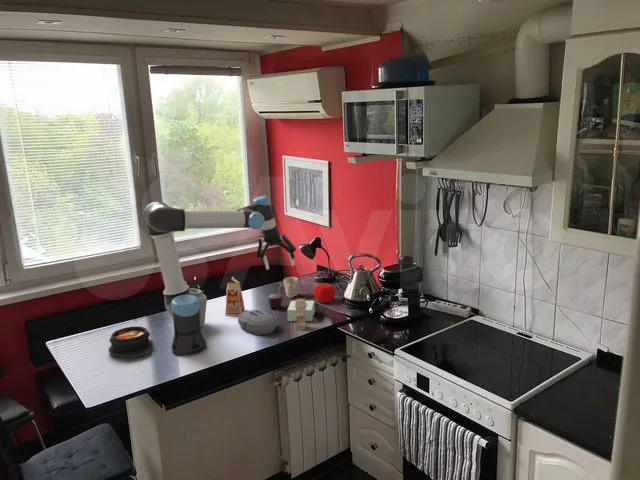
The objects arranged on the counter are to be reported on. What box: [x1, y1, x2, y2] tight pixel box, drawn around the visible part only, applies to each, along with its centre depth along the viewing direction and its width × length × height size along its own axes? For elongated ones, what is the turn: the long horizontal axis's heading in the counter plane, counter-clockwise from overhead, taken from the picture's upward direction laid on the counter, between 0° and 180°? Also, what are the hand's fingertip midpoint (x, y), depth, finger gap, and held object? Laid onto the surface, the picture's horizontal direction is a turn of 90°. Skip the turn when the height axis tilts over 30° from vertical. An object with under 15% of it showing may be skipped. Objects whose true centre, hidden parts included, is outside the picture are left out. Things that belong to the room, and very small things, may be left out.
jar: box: [169, 276, 208, 327], centre depth 251 cm, size 19×15×25 cm
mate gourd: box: [268, 281, 285, 310], centre depth 275 cm, size 8×8×15 cm
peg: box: [295, 298, 307, 330], centre depth 247 cm, size 4×4×14 cm
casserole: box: [108, 325, 154, 359], centre depth 228 cm, size 25×19×8 cm
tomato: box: [313, 282, 336, 303], centre depth 283 cm, size 12×12×10 cm
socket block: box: [286, 300, 316, 322], centre depth 262 cm, size 14×12×6 cm
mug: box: [283, 276, 299, 298], centre depth 292 cm, size 8×13×10 cm, turn 174°
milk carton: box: [224, 276, 246, 317], centre depth 269 cm, size 9×9×20 cm
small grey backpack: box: [237, 309, 277, 335], centre depth 248 cm, size 15×8×20 cm
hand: (280, 266), depth 256 cm, fingers open, 13 cm apart
